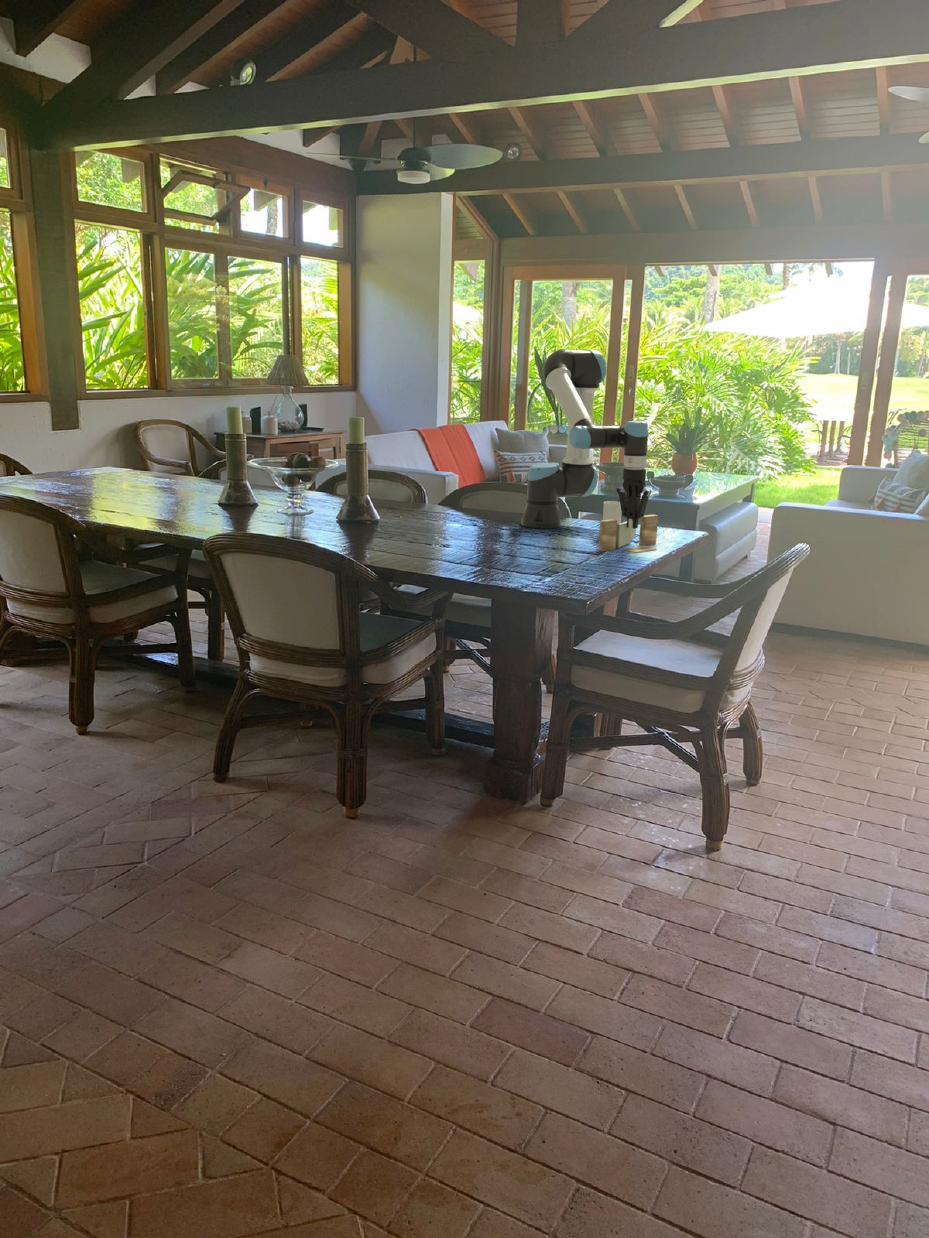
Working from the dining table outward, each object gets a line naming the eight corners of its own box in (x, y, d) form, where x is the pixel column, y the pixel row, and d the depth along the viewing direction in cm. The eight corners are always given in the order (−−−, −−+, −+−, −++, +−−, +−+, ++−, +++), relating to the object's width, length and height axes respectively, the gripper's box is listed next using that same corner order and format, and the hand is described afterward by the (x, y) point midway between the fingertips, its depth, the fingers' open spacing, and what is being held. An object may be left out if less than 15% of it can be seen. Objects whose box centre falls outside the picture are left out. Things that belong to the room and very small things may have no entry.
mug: (599, 536, 337) (602, 503, 334) (603, 533, 343) (605, 500, 340) (627, 538, 334) (630, 505, 330) (630, 535, 340) (633, 502, 337)
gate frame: (598, 550, 313) (600, 520, 310) (651, 542, 327) (653, 514, 324) (618, 555, 306) (620, 525, 303) (671, 547, 320) (674, 518, 317)
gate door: (617, 548, 315) (618, 524, 313) (613, 547, 316) (615, 524, 314) (630, 542, 325) (632, 519, 323) (627, 542, 326) (629, 519, 323)
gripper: (612, 467, 314) (610, 536, 320) (644, 470, 305) (641, 541, 312) (625, 466, 319) (622, 534, 325) (657, 468, 311) (653, 538, 317)
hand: (631, 537), depth 319 cm, fingers closed
